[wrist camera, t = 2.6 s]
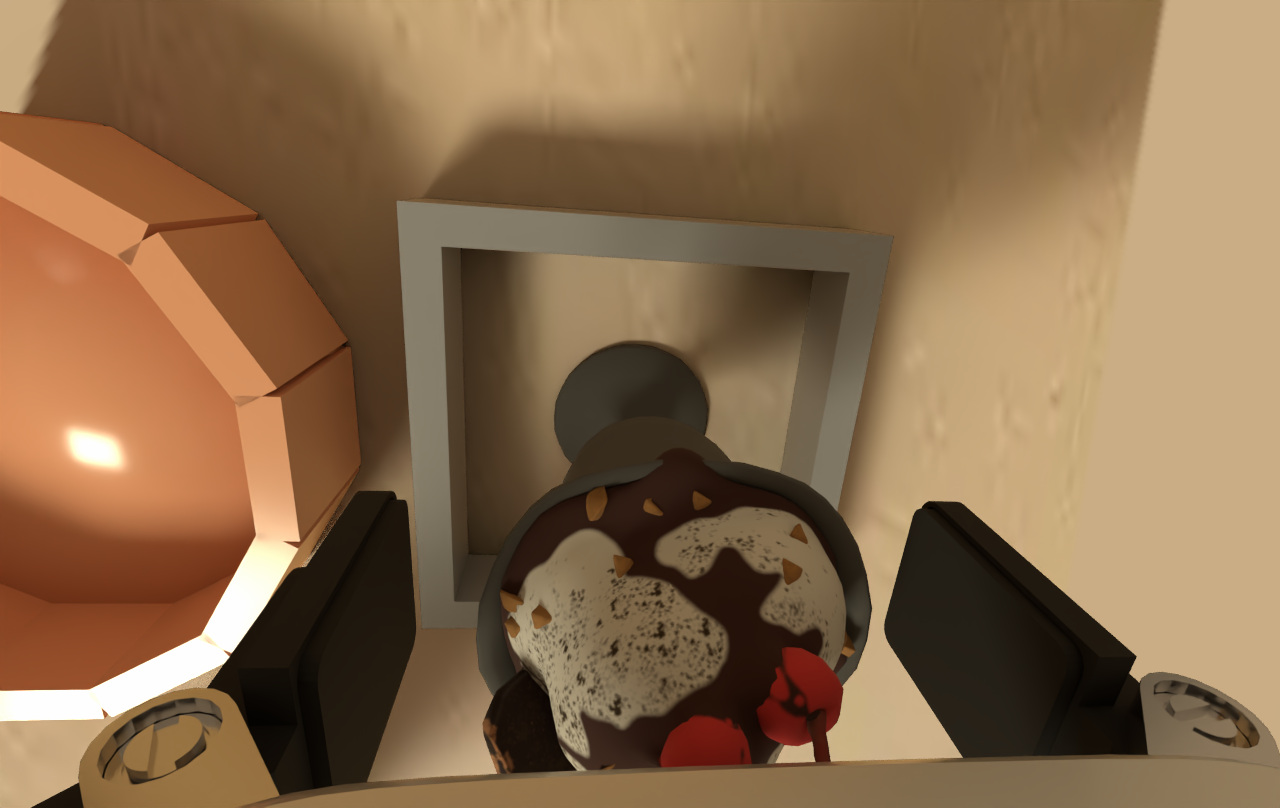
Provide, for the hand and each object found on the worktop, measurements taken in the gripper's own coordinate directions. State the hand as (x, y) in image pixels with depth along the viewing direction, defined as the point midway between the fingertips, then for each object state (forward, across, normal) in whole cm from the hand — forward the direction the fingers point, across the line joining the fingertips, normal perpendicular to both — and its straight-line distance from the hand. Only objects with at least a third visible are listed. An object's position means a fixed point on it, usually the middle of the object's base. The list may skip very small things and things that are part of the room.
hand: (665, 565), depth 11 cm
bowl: (+9, +16, +1) cm, 18 cm away
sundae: (+9, 0, +1) cm, 9 cm away
